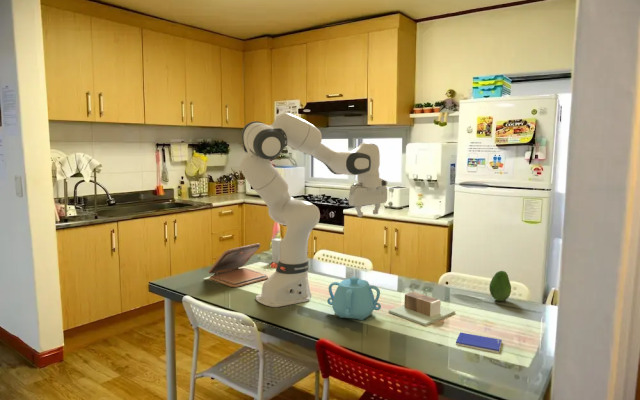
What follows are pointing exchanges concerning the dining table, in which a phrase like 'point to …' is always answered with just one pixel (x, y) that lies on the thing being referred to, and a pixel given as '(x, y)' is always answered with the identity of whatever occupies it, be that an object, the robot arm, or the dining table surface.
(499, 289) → the fruit
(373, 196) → the robot arm
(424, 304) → the walnut block
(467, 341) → the hard drive
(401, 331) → the dining table surface
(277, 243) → the skincare box
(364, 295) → the decorative pot
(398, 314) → the sage mat
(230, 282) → the case
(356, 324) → the dining table surface
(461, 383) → the dining table surface
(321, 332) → the dining table surface
